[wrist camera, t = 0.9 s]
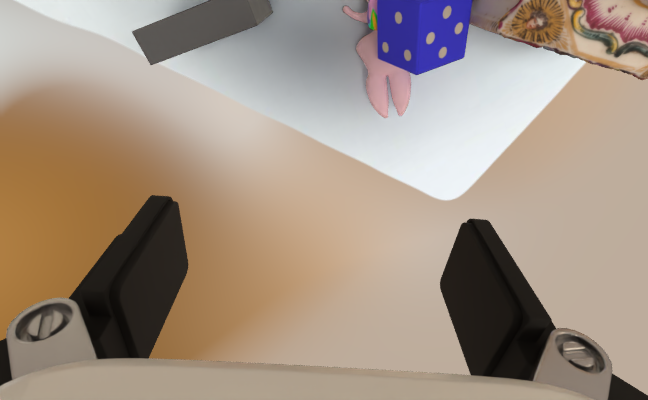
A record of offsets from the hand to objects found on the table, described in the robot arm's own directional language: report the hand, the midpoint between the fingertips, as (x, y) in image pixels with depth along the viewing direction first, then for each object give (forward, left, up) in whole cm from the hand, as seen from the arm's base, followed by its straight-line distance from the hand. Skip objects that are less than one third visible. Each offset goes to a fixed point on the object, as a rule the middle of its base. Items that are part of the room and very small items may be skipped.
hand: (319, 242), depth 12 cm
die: (-2, +7, -24) cm, 25 cm away
